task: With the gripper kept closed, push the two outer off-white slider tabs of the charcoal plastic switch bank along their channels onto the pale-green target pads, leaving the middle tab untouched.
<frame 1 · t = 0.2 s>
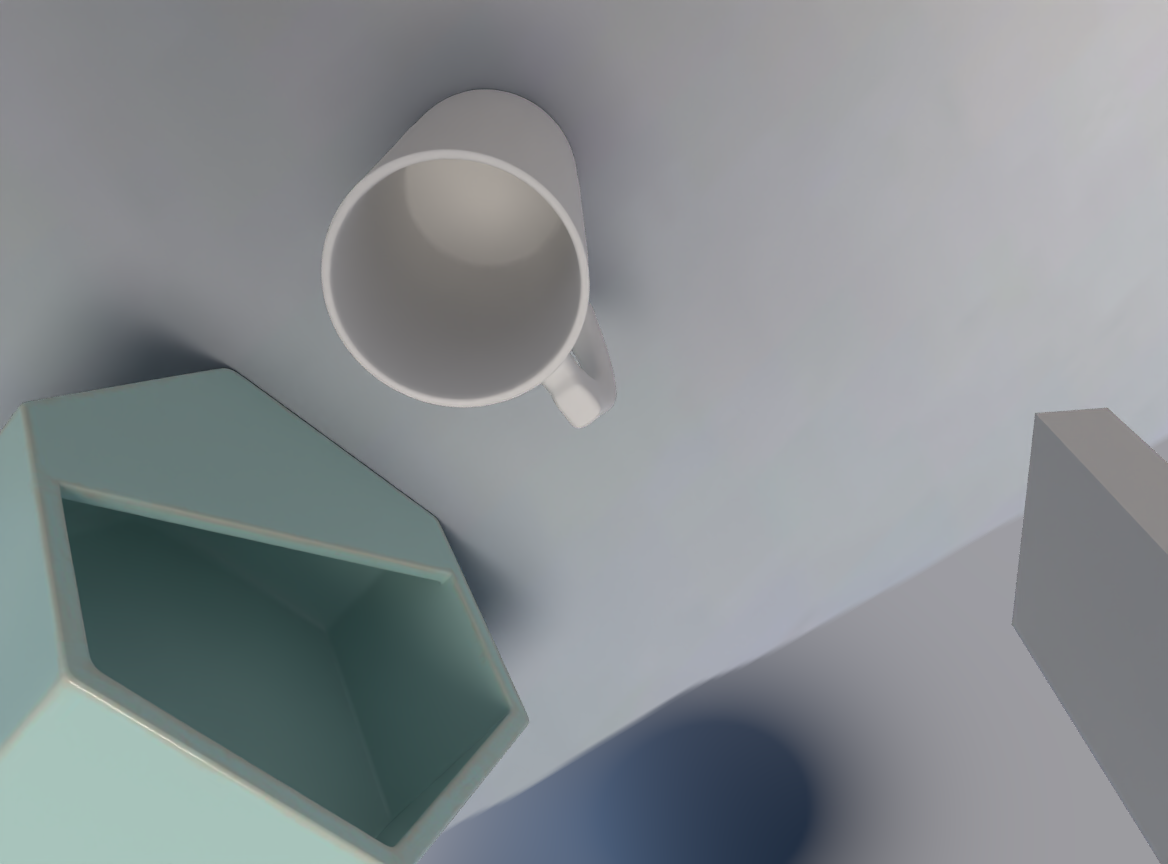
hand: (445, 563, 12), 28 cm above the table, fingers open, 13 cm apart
planter: (296, 515, 44), on the table
mug: (518, 214, 39), on the table
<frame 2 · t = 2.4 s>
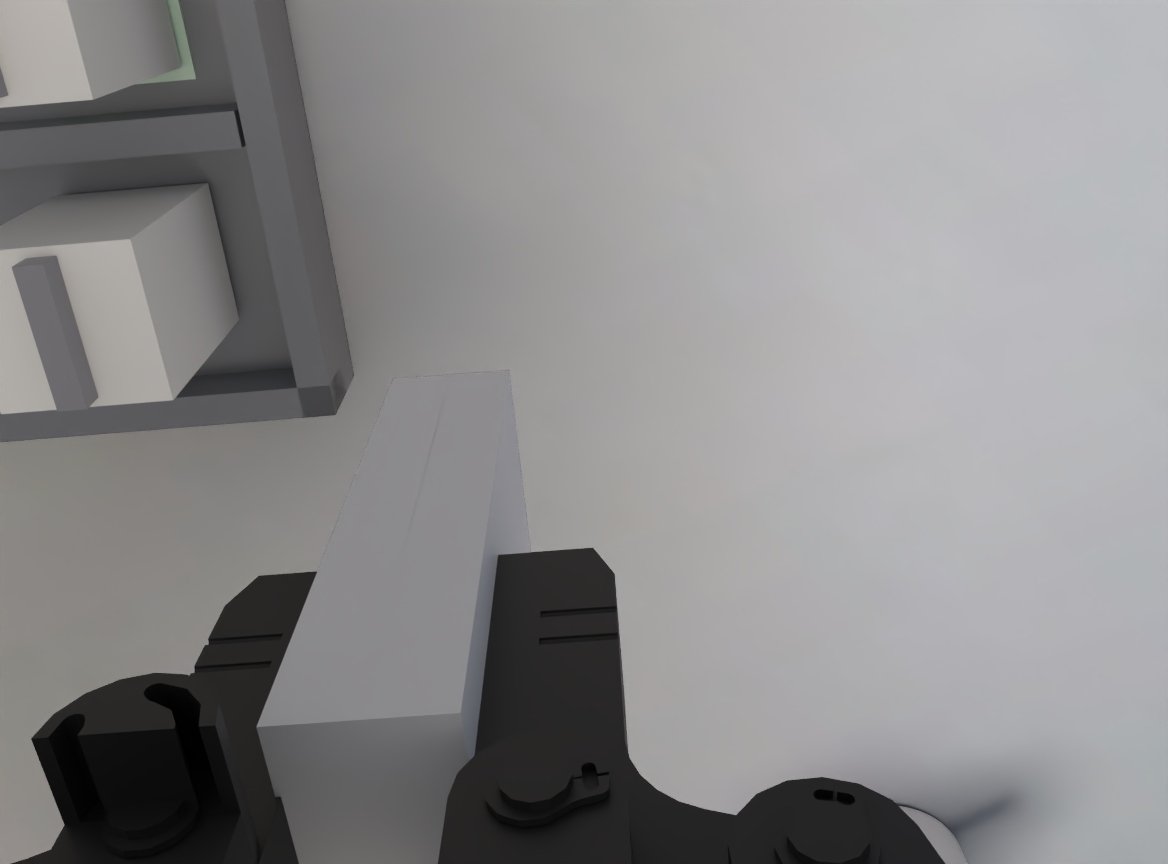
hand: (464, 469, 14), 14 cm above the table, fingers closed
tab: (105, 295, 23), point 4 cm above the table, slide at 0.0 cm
mug: (911, 845, 37), on the table
tab mid: (22, 0, 21), point 4 cm above the table, slide at 0.0 cm
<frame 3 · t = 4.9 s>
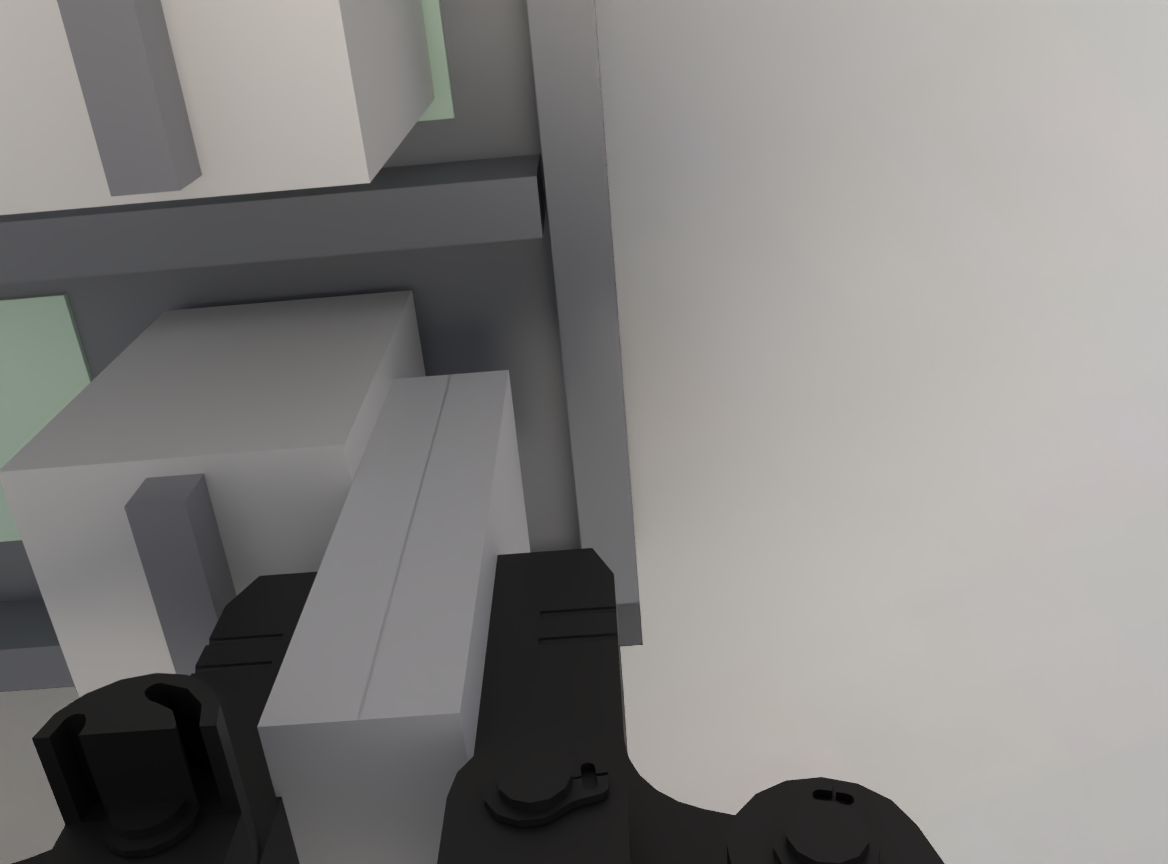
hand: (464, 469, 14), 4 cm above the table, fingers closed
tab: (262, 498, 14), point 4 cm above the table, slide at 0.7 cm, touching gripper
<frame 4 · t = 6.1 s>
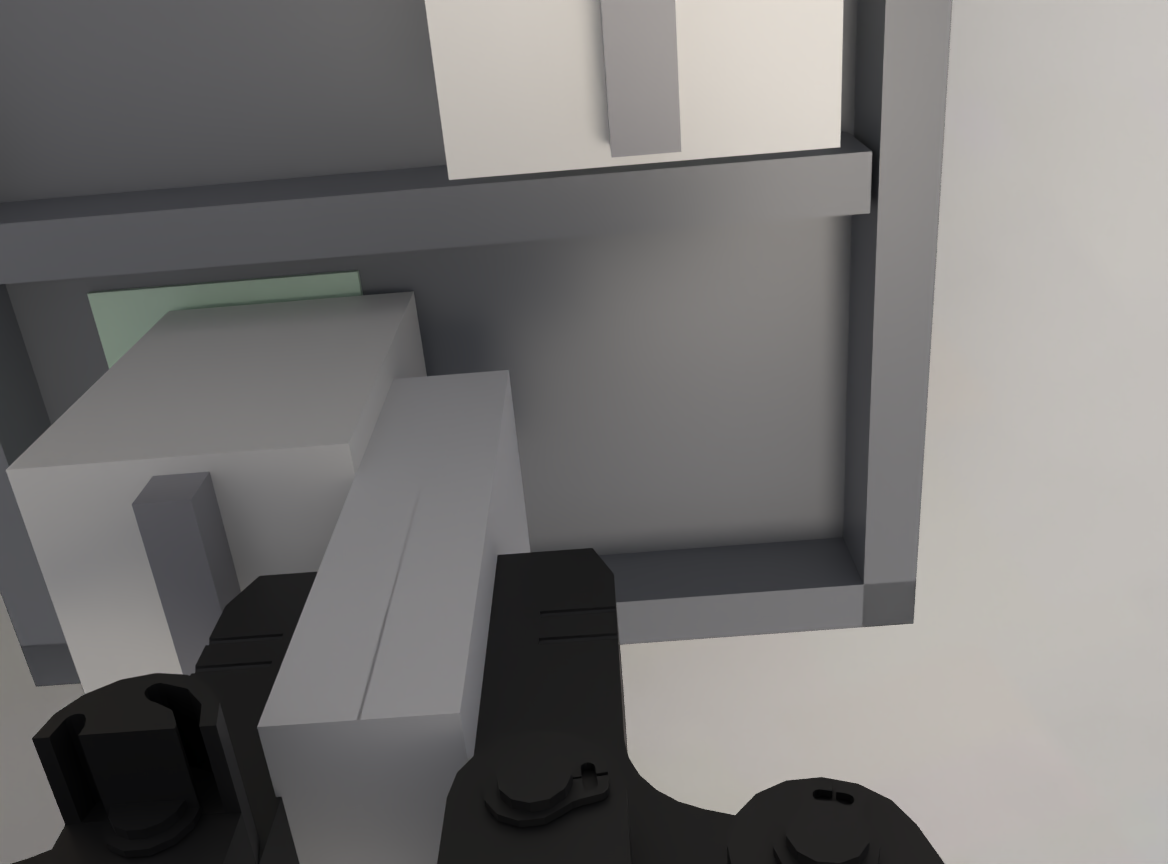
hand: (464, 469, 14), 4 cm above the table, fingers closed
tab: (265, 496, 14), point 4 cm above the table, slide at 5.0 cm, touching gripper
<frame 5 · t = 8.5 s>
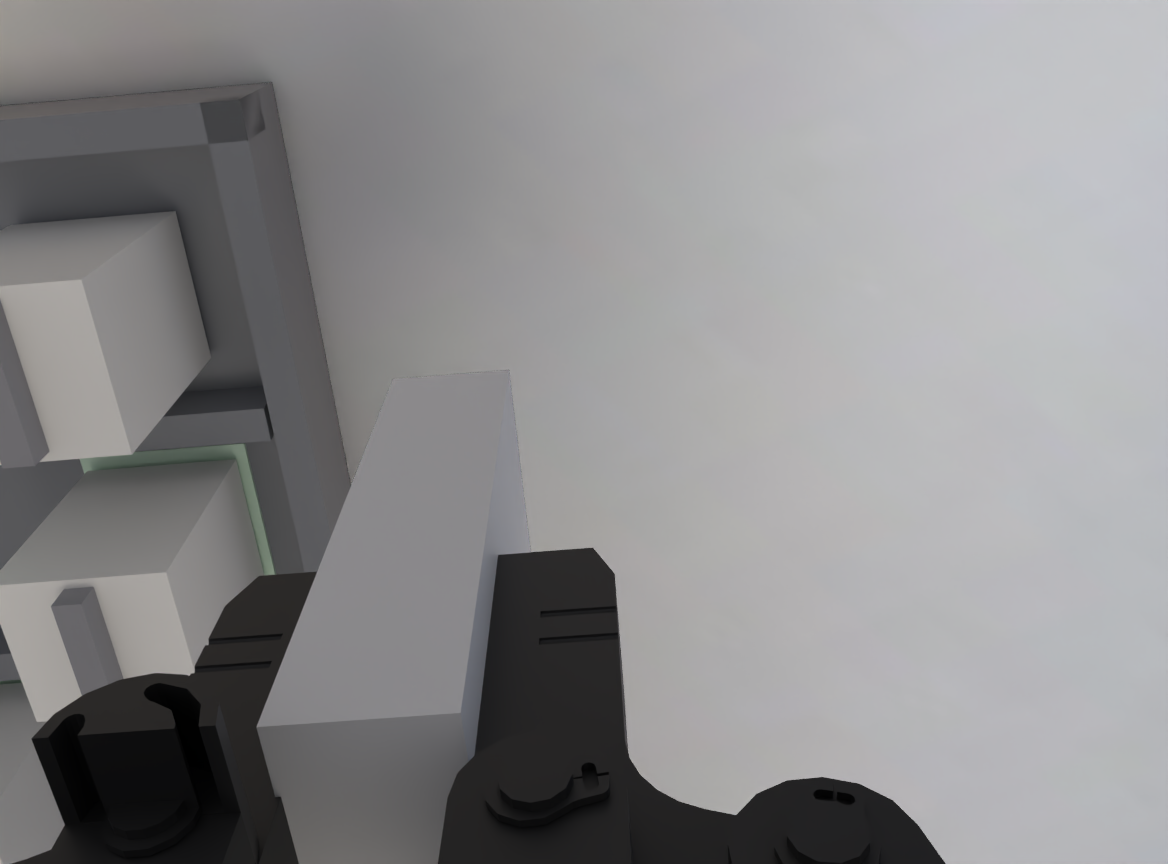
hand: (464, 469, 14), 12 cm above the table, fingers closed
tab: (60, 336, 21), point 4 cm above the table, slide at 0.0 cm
switch bank: (82, 506, 28), on the table
tab mid: (137, 589, 24), point 4 cm above the table, slide at 0.0 cm
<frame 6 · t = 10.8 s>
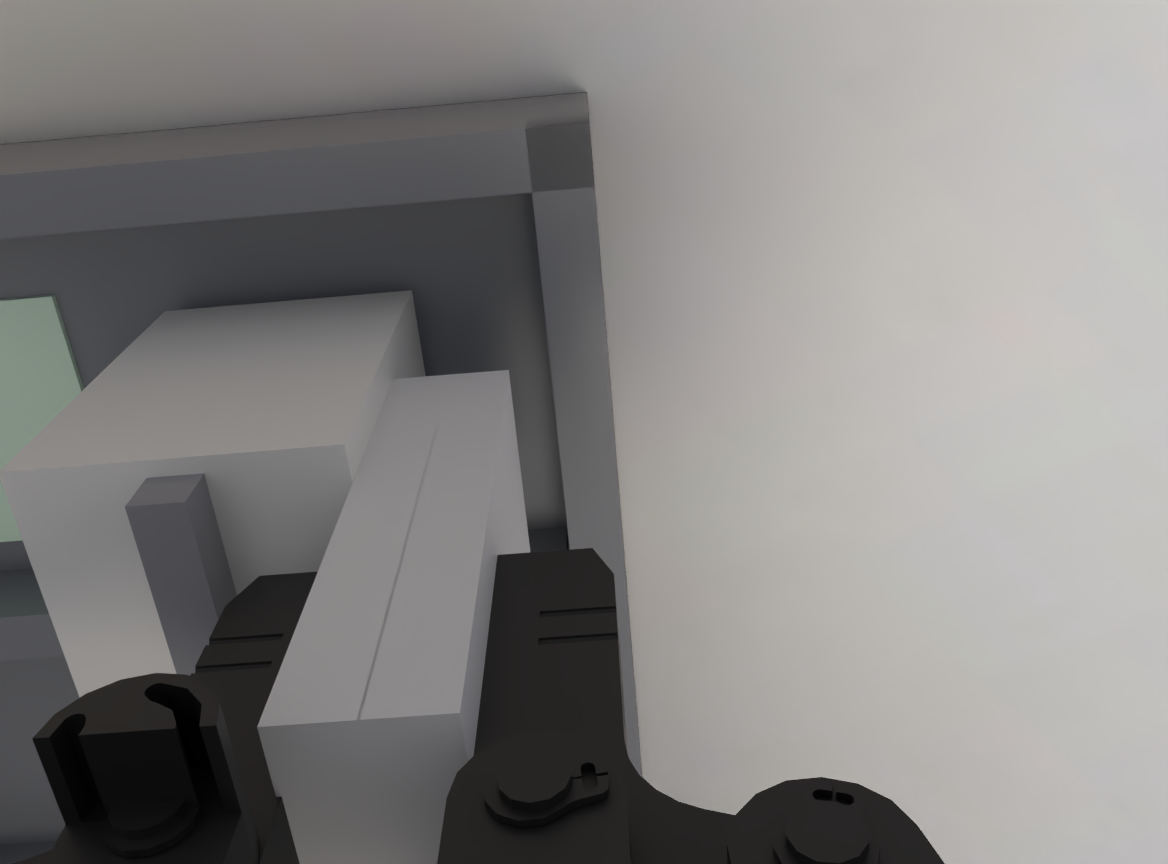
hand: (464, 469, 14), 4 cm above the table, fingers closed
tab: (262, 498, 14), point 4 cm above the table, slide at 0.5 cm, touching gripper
switch bank: (260, 674, 20), on the table
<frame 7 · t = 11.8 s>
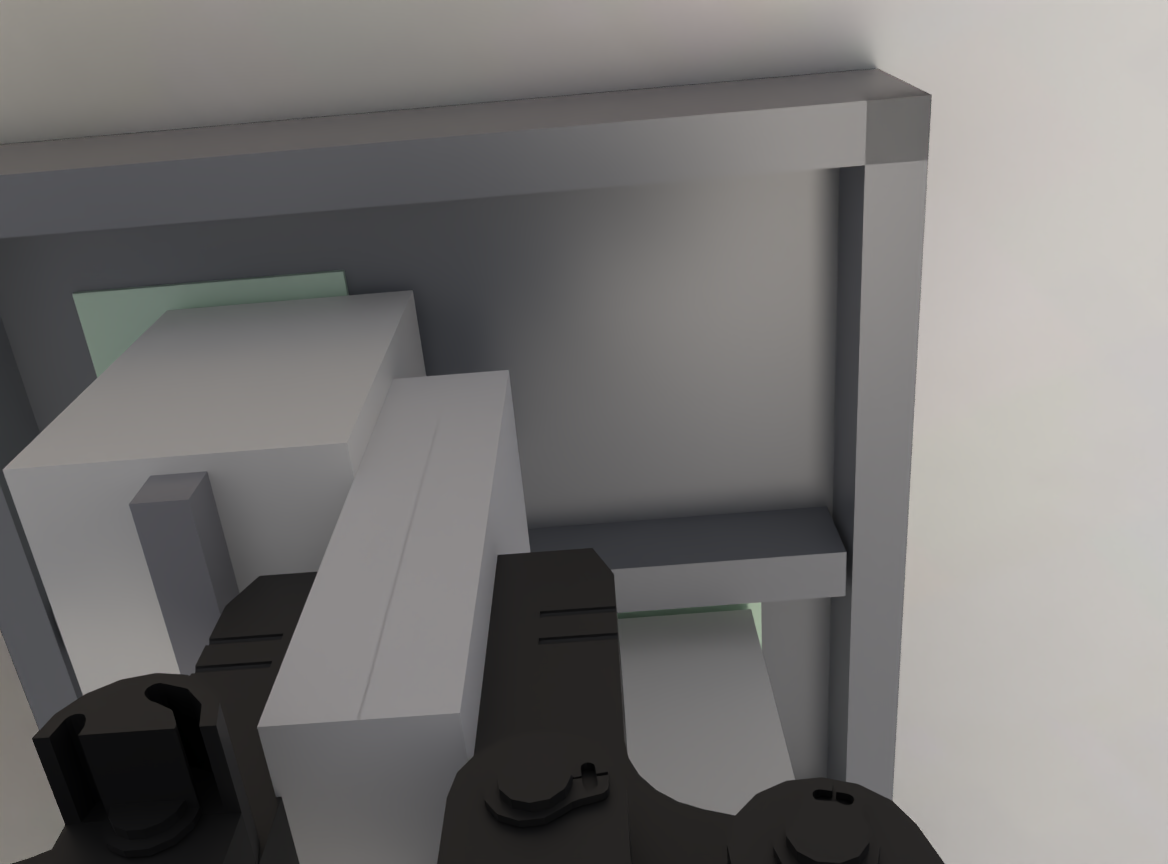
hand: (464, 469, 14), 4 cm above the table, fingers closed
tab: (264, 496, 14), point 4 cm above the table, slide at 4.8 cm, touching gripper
switch bank: (485, 656, 20), on the table
tab mid: (661, 818, 16), point 4 cm above the table, slide at 0.0 cm
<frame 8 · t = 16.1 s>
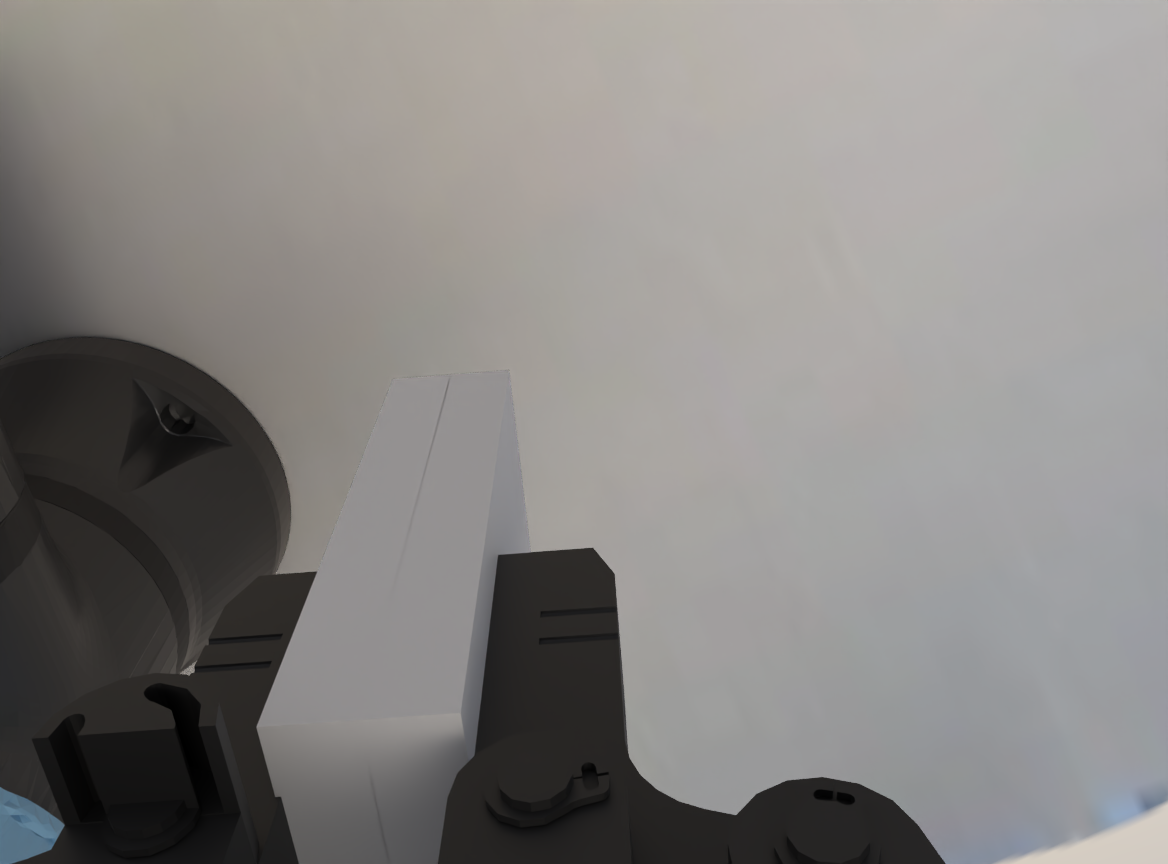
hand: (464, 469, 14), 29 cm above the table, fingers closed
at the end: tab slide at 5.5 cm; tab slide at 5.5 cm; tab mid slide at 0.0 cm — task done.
